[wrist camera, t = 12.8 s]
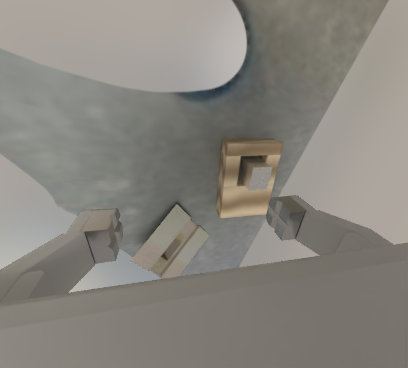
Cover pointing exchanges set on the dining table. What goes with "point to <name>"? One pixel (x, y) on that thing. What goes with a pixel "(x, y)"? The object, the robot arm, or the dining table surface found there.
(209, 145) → the dining table surface
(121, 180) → the dining table surface
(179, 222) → the beige slotted box
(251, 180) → the metal bracket bar
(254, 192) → the oak well block
